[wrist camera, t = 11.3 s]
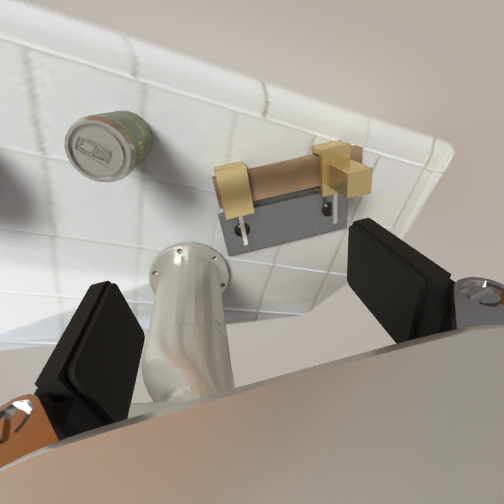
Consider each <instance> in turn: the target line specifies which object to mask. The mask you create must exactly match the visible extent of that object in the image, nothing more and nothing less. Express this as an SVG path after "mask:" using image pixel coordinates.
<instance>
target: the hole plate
mask: <svg viewBox="0 0 504 504" xmlns="http://www.w3.org/2000/svg"><path fill="white" fill-rule="evenodd" d="M253 208H254V213H252V214H248V215H244V216H243V221H244V226H245V231H246V236H247V240H248V245H244V242H243V237H242V233H241V228H240V224H239V219H238V217H235V218H231V219H227V220H226V216H225V212H224V213H220V214H218V216H219V220H220V224H221V228H222V232H223V236H224V240H225V243H226V247H227V251H228V255H229V256H231V255H235V254H239V253H243V252H247V251H251V250H256V249H260V248H264V247H268V246H272V245H276V244H280V243H284V242H288V241H293V240H297V239H301V238H305V237H309V236H313V235H317V234H321V233H325V232H330V231H334V230H338V229H342V228H346V227H347V198H345V197H344V196H342V195H341V194H339V193H338V194H337V223H335V224H333V223H332V195H330V196H325V197H322V196H321V195H319V194H318V193H317V192H311V193H306V194H302V195H298V196H293V197H289V198H285V199H280V200H276V201H272V202H268V203H263V204H259V205H255V206H253Z"/></svg>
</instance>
